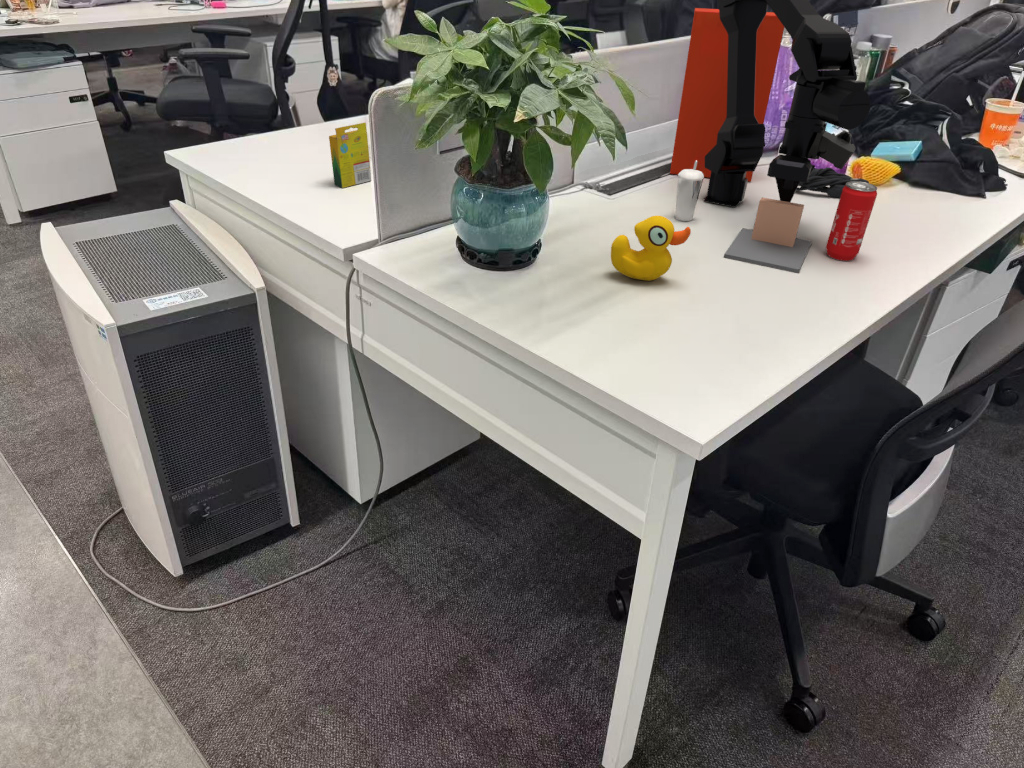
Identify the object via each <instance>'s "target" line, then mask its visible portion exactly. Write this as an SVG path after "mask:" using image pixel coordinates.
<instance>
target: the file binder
mask: <svg viewBox="0 0 1024 768" xmlns="http://www.w3.org/2000/svg"><path fill="white" fill-rule="evenodd" d="M784 31H785V27H784V26H783V24H782V23H781V22H780V20H779V19H778V17H777V16H776V15H775V13H774V12H773V11H767V13H766V15H765V17H764V19H763V21H762V22H761V24H760V26H759V28H758V29H757V40H756V72H755V104H754V115H755V117H756V119H757V121H758V123H759V124H764V125H765V118H766V115H767V110H768V105H769V100H770V95H771V92H772V87H773V81H774V76H775V73H776V67H777V62H778V60H779V59H778V58H779V53H780V49H781V45H782V40H783V36H784ZM727 75H728V33H727V31H726V29H725V28H724V26H723V24H722V22H721V20H720V15H719V8H705V7H704V8H703V7H702V8H701V7H694V15H693V20H692V25H691V31H690V40H689V47H688V52H687V58H686V65H685V71H684V77H683V78H684V79H683V85H682V91H681V97H680V104H679V109H678V110H679V112H678V117H677V124H676V131H675V137H674V145H673V149H672V156H671V163H670V170H669V175H675V176H676V175H677V176H678V174H679V173H680V172H681V171H682V170H684V169H693V168H694V164H695V161H698V162H697V166H696V170H698V171H701V172H702V173H703V175H704V178H709V179H710V175H711V171H710V170H708V169H707V168H705V156H706V155H707V154H708V153H709V151H710V150H711V149H712V148H713V147H714V146H715V145H716V144H717V135H718V132H719V130H720V128H721V126H722V125H723V123H724V121H725V119H726V116H727ZM753 173H754V172H751V171H747V172H746V177H745V178H747V179H748V182H752V179H753ZM748 182H747V183H748Z"/></svg>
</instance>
